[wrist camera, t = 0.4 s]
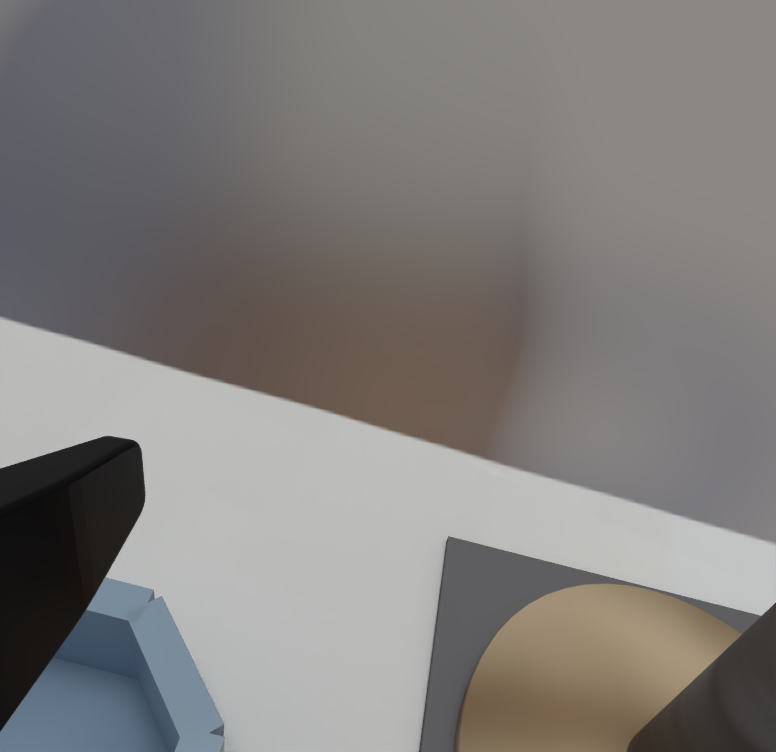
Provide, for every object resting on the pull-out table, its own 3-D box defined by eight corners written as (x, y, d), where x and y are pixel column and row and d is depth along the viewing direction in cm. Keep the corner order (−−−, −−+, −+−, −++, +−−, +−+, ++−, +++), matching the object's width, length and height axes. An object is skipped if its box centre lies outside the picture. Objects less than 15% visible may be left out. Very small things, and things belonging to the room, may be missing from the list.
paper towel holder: (958, 1159, 16) (1720, 1180, 8) (427, 1019, 17) (648, 901, 8) (802, 648, 26) (1077, 422, 18) (471, 564, 26) (591, 302, 18)
